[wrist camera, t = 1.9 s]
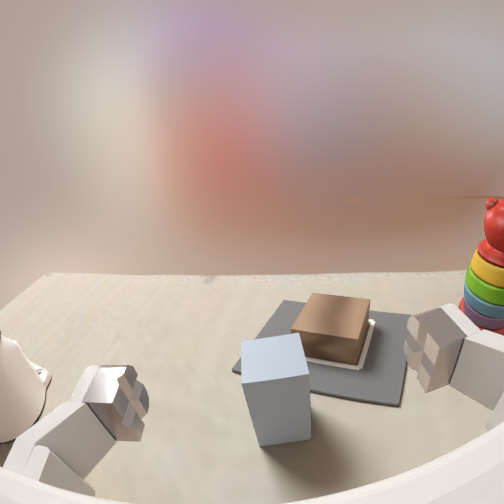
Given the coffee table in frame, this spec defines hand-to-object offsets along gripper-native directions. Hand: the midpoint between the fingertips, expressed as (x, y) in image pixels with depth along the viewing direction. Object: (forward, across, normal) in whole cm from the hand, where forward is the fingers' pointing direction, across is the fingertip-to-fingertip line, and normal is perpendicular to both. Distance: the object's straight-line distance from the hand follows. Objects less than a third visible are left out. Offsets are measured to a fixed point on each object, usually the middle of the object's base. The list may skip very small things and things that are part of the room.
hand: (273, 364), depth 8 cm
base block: (+24, -8, +20) cm, 32 cm away
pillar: (+12, 0, +20) cm, 24 cm away
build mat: (+23, -7, +20) cm, 31 cm away
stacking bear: (+18, -30, +21) cm, 41 cm away
